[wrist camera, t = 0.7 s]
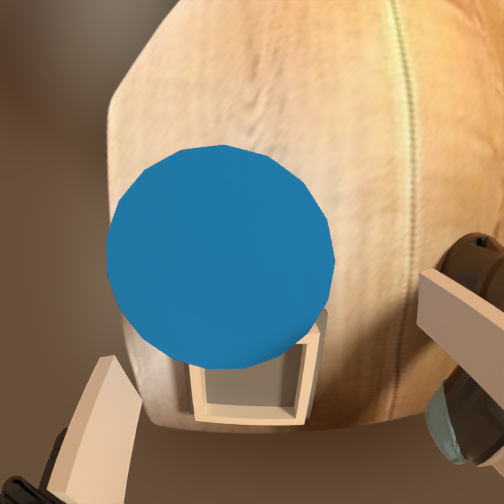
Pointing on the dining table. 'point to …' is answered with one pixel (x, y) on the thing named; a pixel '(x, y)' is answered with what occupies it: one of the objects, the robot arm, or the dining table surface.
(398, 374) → the dining table surface
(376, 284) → the dining table surface
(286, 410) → the holder
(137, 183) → the thermos
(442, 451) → the robot arm
